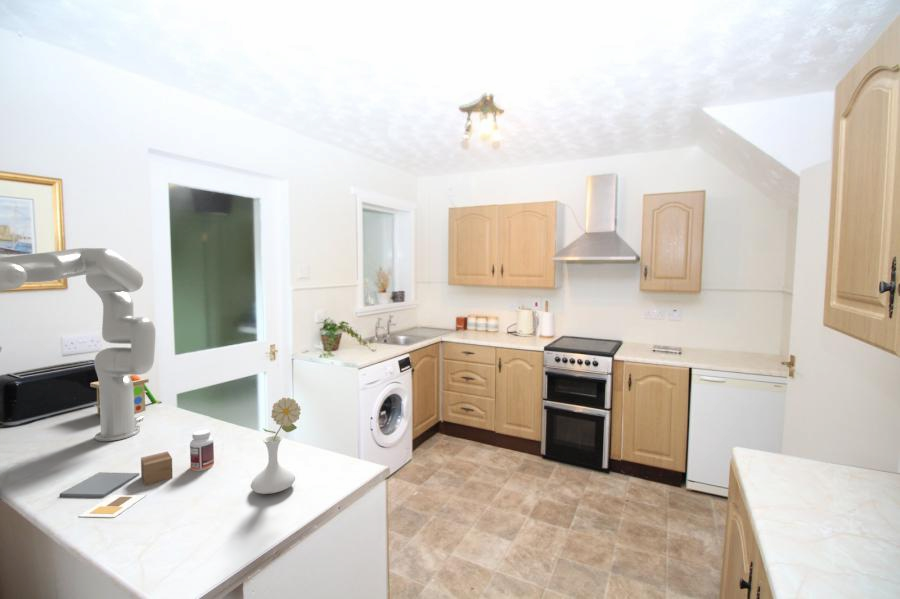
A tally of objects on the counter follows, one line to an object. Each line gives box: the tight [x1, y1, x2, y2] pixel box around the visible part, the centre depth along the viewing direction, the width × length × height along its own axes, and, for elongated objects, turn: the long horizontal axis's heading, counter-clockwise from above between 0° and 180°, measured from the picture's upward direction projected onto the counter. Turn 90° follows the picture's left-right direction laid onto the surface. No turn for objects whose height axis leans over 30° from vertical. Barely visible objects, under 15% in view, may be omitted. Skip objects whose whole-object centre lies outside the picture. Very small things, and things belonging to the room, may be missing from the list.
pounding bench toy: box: [89, 375, 163, 415], centre depth 174 cm, size 23×14×18 cm, turn 158°
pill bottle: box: [189, 429, 215, 472], centre depth 127 cm, size 6×6×11 cm
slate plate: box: [59, 471, 140, 498], centre depth 115 cm, size 12×12×1 cm
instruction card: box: [77, 494, 147, 519], centre depth 105 cm, size 10×9×1 cm
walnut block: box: [140, 451, 173, 486], centre depth 120 cm, size 6×6×6 cm
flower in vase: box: [250, 397, 302, 495], centre depth 115 cm, size 13×11×25 cm
